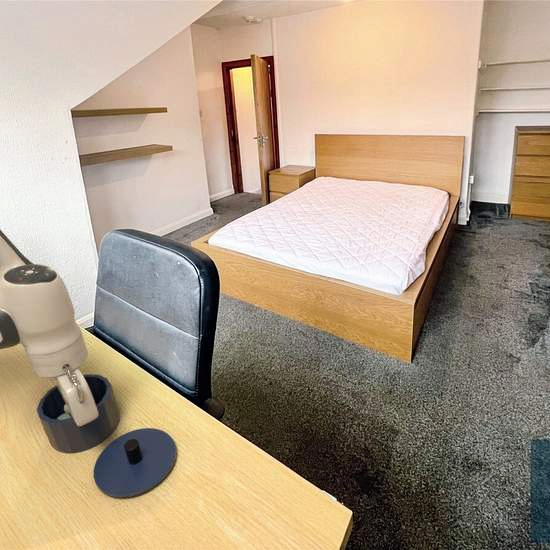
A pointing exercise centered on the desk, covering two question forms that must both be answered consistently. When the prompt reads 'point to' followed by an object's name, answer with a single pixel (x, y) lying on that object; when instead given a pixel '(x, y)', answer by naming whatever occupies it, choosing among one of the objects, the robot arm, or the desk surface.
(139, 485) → the lid
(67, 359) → the robot arm
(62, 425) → the pot
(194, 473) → the desk surface
